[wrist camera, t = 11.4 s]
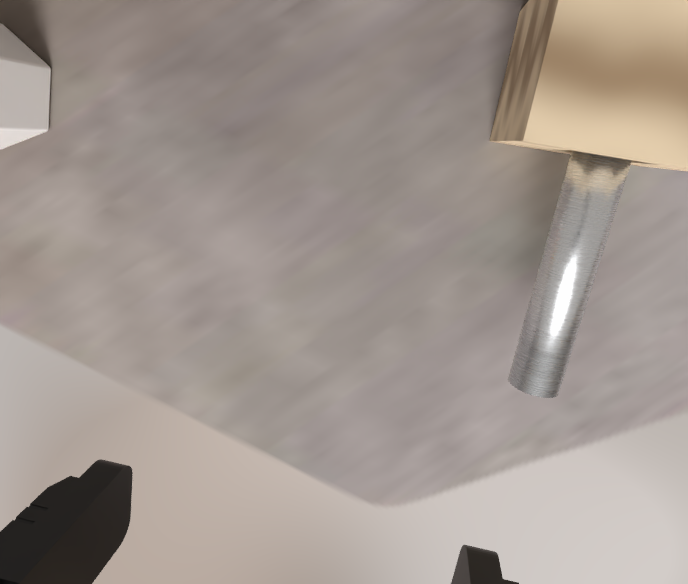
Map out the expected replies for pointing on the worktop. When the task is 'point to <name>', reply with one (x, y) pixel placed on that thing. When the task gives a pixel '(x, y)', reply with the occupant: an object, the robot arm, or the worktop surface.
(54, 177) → the worktop surface
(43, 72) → the jar
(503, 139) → the tan wooden block
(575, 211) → the shaft
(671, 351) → the worktop surface
